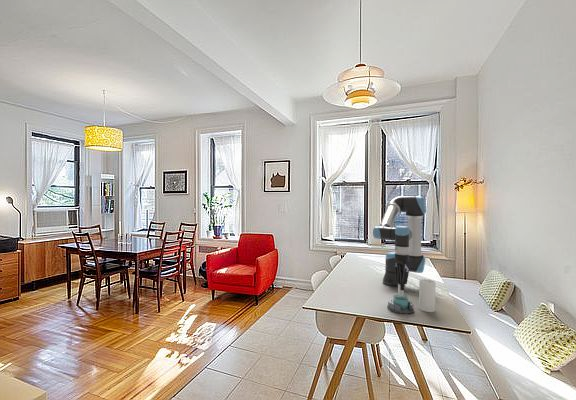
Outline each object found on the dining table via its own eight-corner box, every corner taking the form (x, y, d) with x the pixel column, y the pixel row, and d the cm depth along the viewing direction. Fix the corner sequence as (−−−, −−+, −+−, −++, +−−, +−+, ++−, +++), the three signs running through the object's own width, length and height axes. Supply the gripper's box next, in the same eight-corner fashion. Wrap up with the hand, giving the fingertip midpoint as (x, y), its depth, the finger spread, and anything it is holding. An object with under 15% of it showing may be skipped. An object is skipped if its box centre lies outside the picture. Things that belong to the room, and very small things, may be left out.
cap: (402, 304, 167) (402, 294, 167) (411, 309, 159) (411, 298, 159) (390, 305, 165) (390, 294, 165) (398, 310, 157) (399, 299, 157)
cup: (416, 306, 166) (416, 279, 166) (429, 306, 167) (430, 279, 167) (423, 312, 158) (424, 283, 158) (438, 312, 159) (438, 283, 158)
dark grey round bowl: (404, 304, 170) (405, 297, 170) (419, 313, 156) (419, 306, 156) (382, 305, 168) (383, 298, 167) (395, 314, 154) (395, 307, 154)
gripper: (389, 251, 167) (388, 291, 167) (402, 256, 154) (401, 299, 155) (401, 251, 169) (400, 291, 169) (414, 255, 156) (413, 299, 156)
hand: (400, 295), depth 162 cm, fingers closed
